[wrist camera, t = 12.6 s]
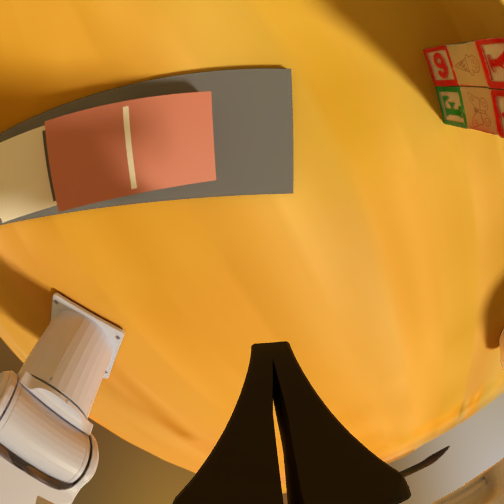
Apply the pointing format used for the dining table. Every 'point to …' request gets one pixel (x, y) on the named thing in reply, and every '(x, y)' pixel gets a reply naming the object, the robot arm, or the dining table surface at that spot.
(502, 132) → the stack of blocks
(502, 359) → the cup
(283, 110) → the domino mat
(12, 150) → the ivory domino
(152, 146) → the red domino
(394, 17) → the dining table surface
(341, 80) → the dining table surface
